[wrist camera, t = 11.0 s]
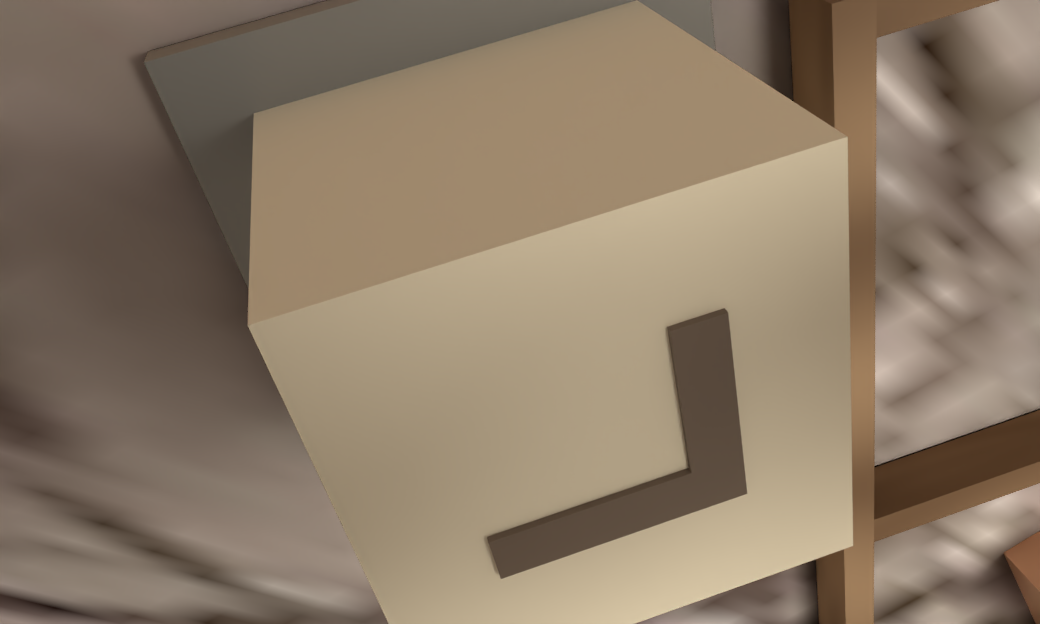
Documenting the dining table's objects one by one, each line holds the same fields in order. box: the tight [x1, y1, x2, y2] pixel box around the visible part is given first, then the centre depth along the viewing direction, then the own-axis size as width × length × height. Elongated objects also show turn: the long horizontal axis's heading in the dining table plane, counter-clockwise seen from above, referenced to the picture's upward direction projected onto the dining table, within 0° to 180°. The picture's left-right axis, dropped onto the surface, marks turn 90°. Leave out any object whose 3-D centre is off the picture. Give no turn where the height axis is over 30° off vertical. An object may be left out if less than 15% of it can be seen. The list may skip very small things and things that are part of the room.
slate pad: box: [144, 0, 715, 290], centre depth 17 cm, size 9×9×1 cm
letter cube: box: [248, 0, 853, 624], centre depth 14 cm, size 6×7×7 cm
